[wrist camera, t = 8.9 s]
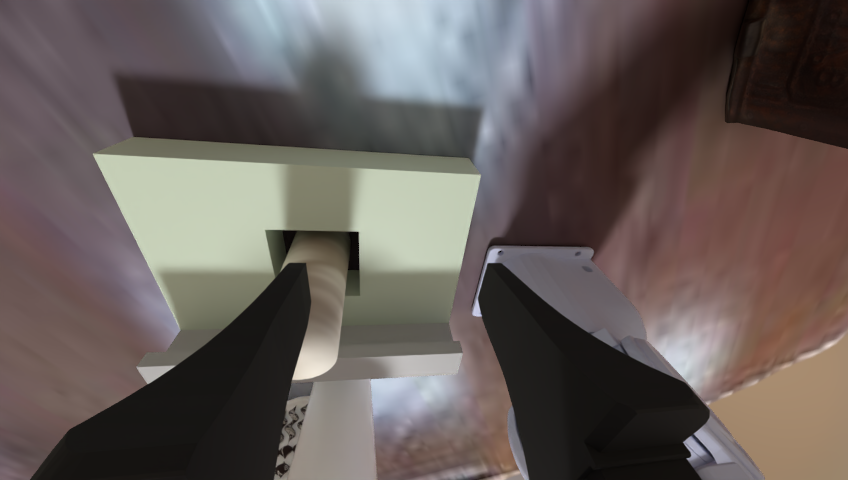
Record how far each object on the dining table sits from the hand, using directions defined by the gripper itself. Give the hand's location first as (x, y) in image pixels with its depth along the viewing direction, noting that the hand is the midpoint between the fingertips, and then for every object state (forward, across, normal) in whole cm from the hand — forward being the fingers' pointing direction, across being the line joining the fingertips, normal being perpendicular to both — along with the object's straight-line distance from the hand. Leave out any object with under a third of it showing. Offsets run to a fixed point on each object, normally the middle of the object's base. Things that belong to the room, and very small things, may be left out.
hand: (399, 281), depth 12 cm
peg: (+10, +5, +5) cm, 13 cm away
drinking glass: (+10, +4, +20) cm, 23 cm away
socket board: (+10, +5, +5) cm, 13 cm away
